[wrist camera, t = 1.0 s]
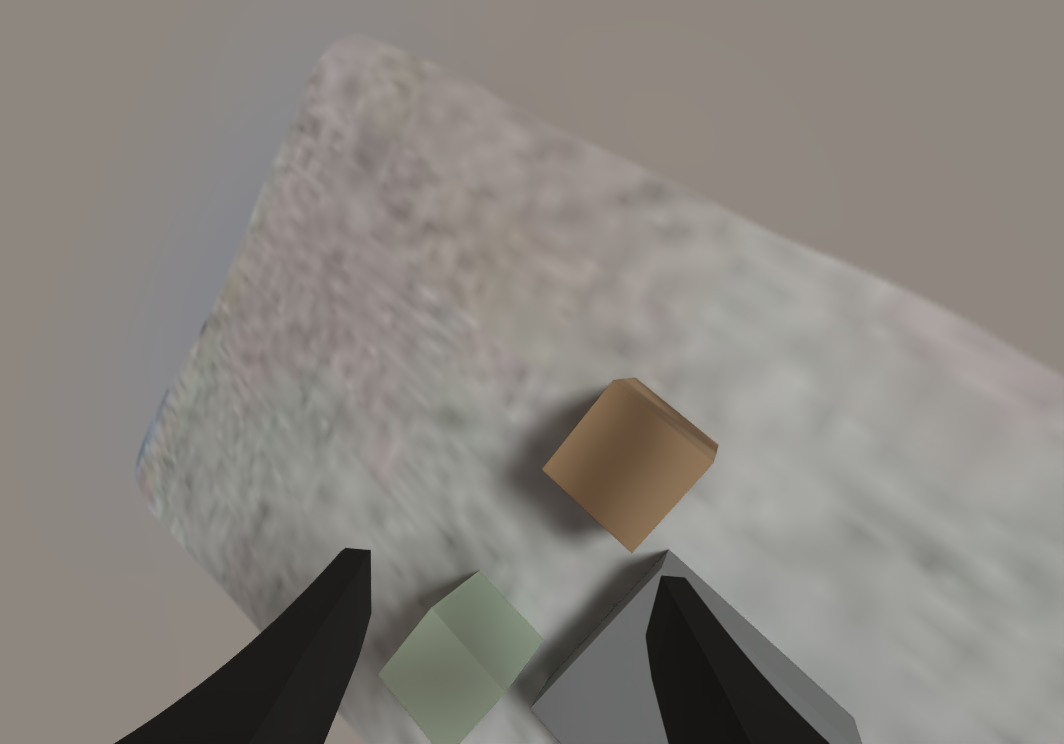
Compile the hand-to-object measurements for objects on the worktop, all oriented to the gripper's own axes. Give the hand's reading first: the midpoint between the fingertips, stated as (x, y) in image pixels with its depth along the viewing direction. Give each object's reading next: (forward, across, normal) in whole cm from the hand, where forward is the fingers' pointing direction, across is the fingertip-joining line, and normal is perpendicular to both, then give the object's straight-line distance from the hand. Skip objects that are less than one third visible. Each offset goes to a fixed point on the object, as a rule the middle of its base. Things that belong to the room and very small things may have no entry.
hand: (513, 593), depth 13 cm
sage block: (+12, 0, +15) cm, 19 cm away
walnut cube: (+13, -6, +3) cm, 14 cm away
